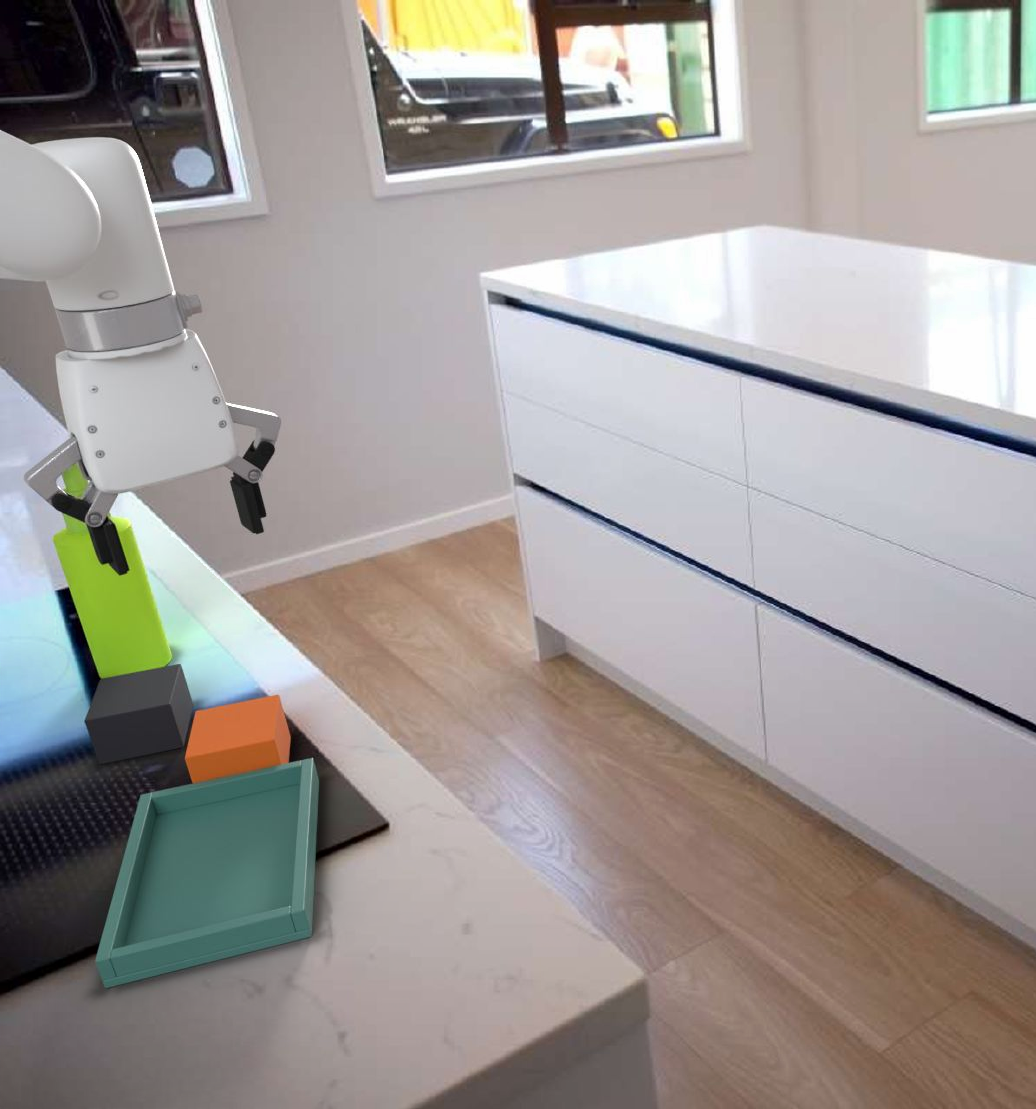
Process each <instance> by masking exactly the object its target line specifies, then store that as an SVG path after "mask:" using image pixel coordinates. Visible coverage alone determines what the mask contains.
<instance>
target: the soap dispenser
mask: <svg viewBox="0 0 1036 1109" xmlns="http://www.w3.org/2000/svg"><path fill="white" fill-rule="evenodd" d="M61 478H62V480H63V484H64V488H63V489H62V490H63V491H64V492H66V493H68V494H71V495H73V496H75V497H77V498H79V499H81V497H82V495H83V493H84V491H85V489H86V487H87V485H88V484H89V480H85V479H84V477H83V476H82V474H81V472H80V470H79V467H78V465H77V463H75V464H74V465H73V466H72V467H70V468H69V469H68V470H67V471H66V472H64V473H63V474H62V475H61ZM61 514H62V518H63V520H64V524H65V528H63V529H61V530H59V531H58V532H57V533H55V534H54V536H53V537H52V542H53V545H54V548H55V551H56V554H57V557H58V559H59V563H60V566H61V568H62V571H63V575H64V577H65V581H66V583H67V586H68V588H69V591H70V595H71V598H72V601H73V604H74V606H75V609H76V612H77V615H78V618H79V621H80V623H81V626H82V630H83V633H84V636H85V638H86V641H87V645H88V647H89V651H90V653H91V656H92V659H93V663H94V665H95V668H96V670H97V674H98V677H99V678H100V679H102V678H107V677H113V676H118V675H123V674H128V673H134V672H139V671H144V670H149V669H155V668H160V667H165V666H168V664H169V663H170V662H171V661H172V658H173V654H172V652H171V648H170V645H169V640H168V639H167V638H168V637H167V635H166V632H165V628H164V625H163V621H162V619H161V616H160V612H159V609H158V606H157V603H156V600H155V597H154V593H153V590H152V587H151V583H150V581H149V577H148V573H147V570H146V568H145V564H144V562H143V558H142V555H141V551H140V548H139V545H138V542H137V537H136V536H135V532H134V529H133V526H132V522H131V521H130V519H128V518H126V517H121V516H112V515H111V514H112V513H111V510H110V511H109V513H108V515H107V516H108V518H109V519H110V520H111V521H112V522H113V523H114V524H115V526H116V528H117V531H118V535H119V538H120V541H121V544H122V547H123V551H124V554H125V557H126V560H127V563H128V566H129V571H127V574H124V575H120V576H119V575H118V574H117V573H116V572H115V571H114V570H113V568H112V567H111V566H110V565H109V563H107V564H104V565H102V564H101V563H100V562H99V560H98V558H97V556H96V553H95V550H94V547H93V544H92V541H91V537H90V534H89V531H88V528H87V525H86V523H84V522H82V521H80V520H77V519H75V518H73V517H71V516H68V515H66V514H64V513H62V512H61Z"/></svg>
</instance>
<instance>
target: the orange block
mask: <svg viewBox="0 0 1036 1109" xmlns="http://www.w3.org/2000/svg"><path fill="white" fill-rule="evenodd" d="M283 707H284V706H283V704H282V701H281V697H280V695H279V694H274V695H269V696H264V697H259V698H254V699H250V700H245V701H239V702H235V703H229V704H223V705H219V706H213V707H209V708H205V709H200V710H199V709H198V710H195V711H194V712H195V713H194V716H193V720H192V726H191V728H190V733H189V737H188V742H187V747H186V752H185V756H184V760H185V764H186V767H187V770H188V773H189V776H190V779H191V782H192V783H191V784H193V783H198V782H202V781H207V780H212V779H216V778H221V777H226V776H230V775H235V774H240V773H244V772H249V771H254V770H258V769H263V768H268V767H272V766H277V765H281V764H286V763H290V750H291V749H290V748H291V739H292V736H291V733H290V730H289V726H288V722H287V719H286V716H285V711H284V708H283Z"/></svg>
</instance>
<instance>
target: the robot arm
mask: <svg viewBox="0 0 1036 1109" xmlns="http://www.w3.org/2000/svg"><path fill="white" fill-rule="evenodd" d="M0 279H3V280H13V281H14V280H17V281H28V282H45V283H46V287H47V289H48V292H49V296H50V299H51V302H52V305H53V308H54V311H55V312H54V313H55V315H56V319H57V321H58V324H59V328H60V331H61V335H62V337H63V340H64V344H65V347H66V349H65V350H62V351H60V352H58V353H56V354H55V370H56V379H57V386H58V390H59V396H60V402H61V407H62V411H63V415H64V416H63V417H64V421H65V425H66V429H67V433H68V436H69V438H68V439H67V440H65V441H64V442H63V443H61V444H60V445H59V446H57V447H56V448H55V449H54V450H53V451H52V452H50V453H49V454H48V455H46V456H45V457H44V458H43V459H41V460H40V461H39V462H37V463H36V464H35V465H33V467H31V468H30V469H29V470H28V471H26V472H25V473H24V475H23V481H24V483H26V484H27V485H28V487H30V488H31V489H32V490H33V491H34V492H35V493H36V494H38V495H39V496H40V497H41V498H42V499H43V500H44V501H46V502H47V503H48V504H49V505H50V506H51V507H52V508H54V509H55V511H57V512H60V513H61V514H62V513H64V514H66V515H68V516H71V517H73V518H75V519H77V520H80V521H82V522H84V523H86V525H87V528H88V531H89V534H90V537H91V541H92V544H93V547H94V550H95V553H96V556H97V558H98V560H99V562H100V563H101V564H102V565H104V564H107V563H109V565H110V566H111V567H112V568H113V570H114V571H115V572H116V573H117V574H118V575H119V576H120V575H124V574H127V571H129V566H128V563H127V560H126V557H125V554H124V551H123V547H122V544H121V541H120V538H119V535H118V531H117V528H116V526H115V524H114V523H113V522H112V521H111V520H110V519H109V518H108V516H107V515H108V513H109V511H110V512H111V509H112V507H113V505H114V504H115V502H116V500H117V499H118V496H119V494H125V493H126V494H127V493H129V492H134V491H138V490H142V489H146V488H150V487H154V486H158V485H162V484H166V483H169V482H173V481H176V480H180V479H184V478H188V477H193V476H195V475H199V474H203V473H206V472H210V471H213V470H217V469H219V468H222V467H225V468H227V469H228V470H230V471H231V472H232V475H233V476H231V477H230V479H231V480H229V484H230V487H231V491H232V495H233V498H234V502H235V506H236V509H237V514H238V518H239V521H240V524H241V526H242V527H244V528H245V529H246V530H248V531H249V532H250V533H252V534H255V535H260V534H263V533H264V532H265V529H264V526H263V521H262V519H264V518H266V517H267V510H266V507H265V504H264V498H263V495H262V491H261V487H260V484H259V483H260V482H261V481H262V479H263V476H264V475H263V471H264V470H265V469H266V467H267V465H268V464H269V462H270V461H271V459H272V457H273V456H274V455H275V452H276V447H275V446H276V442H277V440H278V436H279V433H280V429H281V425H282V419H281V418H280V416H279V415H276V414H275V413H273V412H270V411H266V410H261V409H256V408H253V407H248V406H243V405H238V404H234V403H230V402H227V401H226V399H225V396H224V394H223V390H222V388H221V385H220V383H219V380H218V378H217V376H216V373H215V370H214V368H213V366H212V363H211V361H210V358H209V357H208V354H207V352H206V350H205V348H204V346H203V344H202V342H201V340H200V339H199V336H198V335H197V333H196V332H195V331H194V330H192V329H189V328H188V327H189V326H188V323H187V322H188V320H189V319H188V318H191V317H193V315H196V314H201V313H203V308H202V303H201V300H200V297H199V296H198V294H190V295H186V294H180V293H179V292H178V291H177V290H175V287H174V283H173V279H172V276H171V273H170V268H169V264H168V261H167V258H166V254H165V250H164V247H163V242H162V239H161V234H160V231H159V228H158V224H157V220H156V217H155V212H154V209H153V204H152V200H151V198H150V193H149V189H148V186H147V183H146V179H145V176H144V172H143V169H142V164H141V162H140V159H139V156H138V155H137V153H136V151H135V150H134V149H133V147H132V146H131V145H129V144H128V143H127V142H125V141H123V140H121V139H118V138H114V137H105V136H102V137H101V136H95V137H77V138H65V139H55V140H49V141H42V142H37V143H33V144H30V143H29V142H27V141H24V140H22V139H21V138H18V137H16V136H14V135H12V134H10V133H9V132H8V133H7V132H6V131H3V130H1V129H0ZM234 424H238V425H243V426H248V427H253V428H255V433H254V436H255V437H254V439H253V440H252V442H251V444H250V445H249V447H248V448H247V450H246V451H245V453H244V454H243V456H242V457H241V456H240V455H239V453H240V446H239V440H238V436H237V432H236V428H235V425H234ZM75 463H77V465H78V467H79V470H80V472H81V474H82V476H83V477H84V479H85V480H88V483H89V484H88V485H87V487H86V489H85V491H84V493H83V495H82V497H81V499H79V498H77V497H75V496H73V495H71V494H68V493H66V492H64V491H63V489H61V487H59V486H58V485H57V480H58V479H59V478H60V476H61V477H62V474H63V473H64V472H66V471H67V470H68V469H69V468H70V467H72V466H73V465H74V464H75Z"/></svg>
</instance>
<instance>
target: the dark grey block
mask: <svg viewBox="0 0 1036 1109" xmlns="http://www.w3.org/2000/svg"><path fill="white" fill-rule="evenodd" d="M185 676H186V675H185V673H184V669H183V665H182V664H181V663H176V664H171V665H166V666H165V667H160V668H155V669H149V670H144V671H139V672H134V673H128V674H123V675H118V676H113V677H107V678H100V679H99V682H98V684H97V687H96V689H95V692H94V695H93V697H92V699H91V703H90V705H89V708H88V710H87V713H86V716H85V718H84V721H83V722H84V725H85V727H86V730H87V733H88V736H89V739H90V741H91V742H90V743H91V744H92V747H93V750H94V753H95V755H96V756H95V757H96V758H97V761H98V764H99V765H105V764H110V763H114V762H119V761H124V760H128V759H133V758H134V759H135V758H139V757H142V756H143V757H145V756H149V755H153V754H159V753H163V752H167V751H172V750H177V749H178V750H179V749H182V748H184V747H185V743H186V739H187V733H188V729H189V726H190V721H191V717H192V713H193V708H194V702H193V699H192V695H191V692H190V688H189V685H188V682H187V679H186V677H185Z"/></svg>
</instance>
